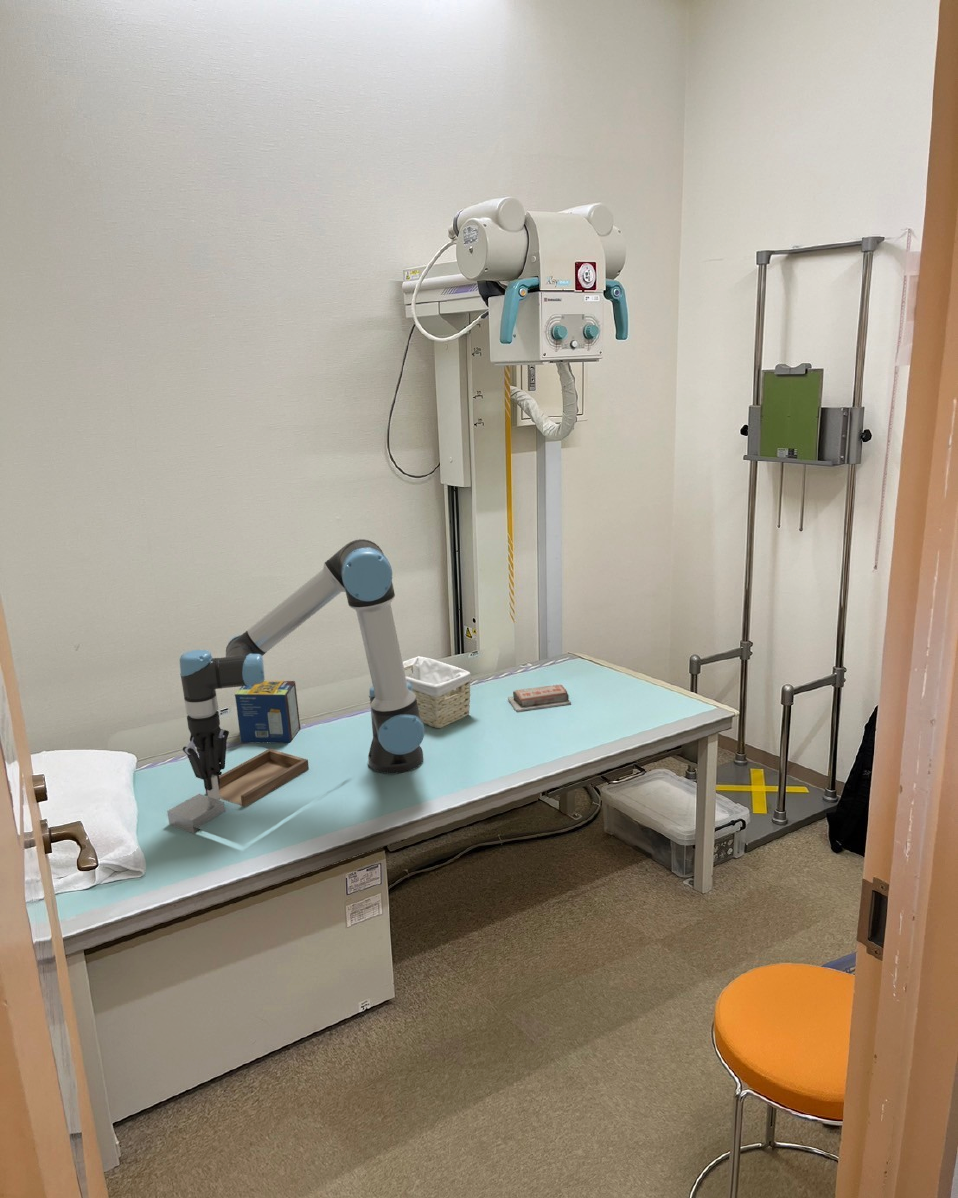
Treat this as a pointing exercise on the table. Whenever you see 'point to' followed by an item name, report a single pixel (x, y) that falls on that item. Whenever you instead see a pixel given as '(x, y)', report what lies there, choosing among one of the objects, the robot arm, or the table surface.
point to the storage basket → (439, 690)
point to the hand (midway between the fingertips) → (214, 799)
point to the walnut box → (259, 776)
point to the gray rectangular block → (195, 812)
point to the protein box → (268, 712)
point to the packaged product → (539, 698)
